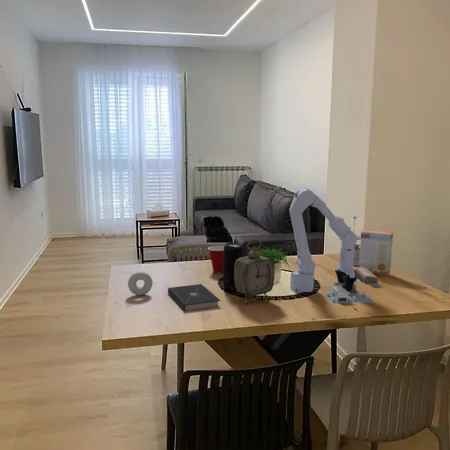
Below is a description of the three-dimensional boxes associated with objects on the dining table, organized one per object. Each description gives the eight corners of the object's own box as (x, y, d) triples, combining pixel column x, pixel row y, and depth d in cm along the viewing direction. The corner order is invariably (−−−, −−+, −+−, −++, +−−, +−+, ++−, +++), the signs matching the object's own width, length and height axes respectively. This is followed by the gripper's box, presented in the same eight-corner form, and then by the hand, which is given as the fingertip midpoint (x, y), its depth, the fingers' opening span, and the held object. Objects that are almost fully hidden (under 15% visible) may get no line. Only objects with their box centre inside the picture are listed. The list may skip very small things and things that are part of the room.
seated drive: (337, 302, 187) (337, 292, 186) (330, 295, 195) (330, 285, 194) (348, 301, 187) (348, 291, 187) (340, 294, 195) (341, 285, 194)
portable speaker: (229, 292, 199) (229, 247, 196) (218, 286, 207) (219, 242, 204) (246, 290, 203) (247, 245, 199) (236, 283, 211) (236, 241, 208)
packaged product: (348, 266, 228) (369, 266, 228) (348, 275, 228) (368, 275, 229) (360, 276, 210) (382, 277, 210) (359, 287, 211) (382, 287, 211)
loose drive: (355, 294, 201) (356, 285, 200) (337, 294, 200) (337, 285, 199) (351, 291, 205) (352, 282, 204) (333, 291, 204) (334, 282, 203)
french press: (342, 264, 246) (345, 217, 241) (341, 259, 257) (344, 213, 253) (362, 265, 244) (365, 218, 240) (359, 260, 256) (363, 214, 251)
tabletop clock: (243, 306, 184) (245, 243, 179) (231, 299, 191) (232, 239, 187) (273, 300, 191) (275, 239, 187) (260, 293, 199) (262, 235, 194)
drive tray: (333, 306, 185) (333, 299, 185) (323, 296, 196) (324, 290, 196) (374, 305, 188) (375, 298, 187) (363, 295, 198) (363, 289, 198)
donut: (152, 292, 197) (151, 269, 196) (153, 295, 194) (153, 272, 192) (127, 294, 195) (127, 271, 193) (128, 297, 192) (127, 273, 190)
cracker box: (390, 274, 230) (393, 232, 226) (387, 277, 225) (390, 234, 221) (361, 270, 237) (364, 229, 233) (357, 272, 232) (360, 230, 228)
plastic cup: (216, 266, 239) (216, 243, 236) (234, 270, 232) (234, 246, 230) (203, 271, 230) (203, 247, 228) (221, 275, 224) (221, 250, 221)
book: (167, 294, 197) (167, 287, 197) (201, 290, 203) (201, 283, 203) (183, 312, 178) (183, 305, 177) (220, 307, 184) (220, 300, 183)
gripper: (362, 262, 193) (360, 294, 196) (349, 253, 207) (347, 283, 210) (346, 263, 192) (344, 295, 195) (333, 254, 206) (331, 284, 209)
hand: (344, 289), depth 202 cm, fingers open, 7 cm apart
